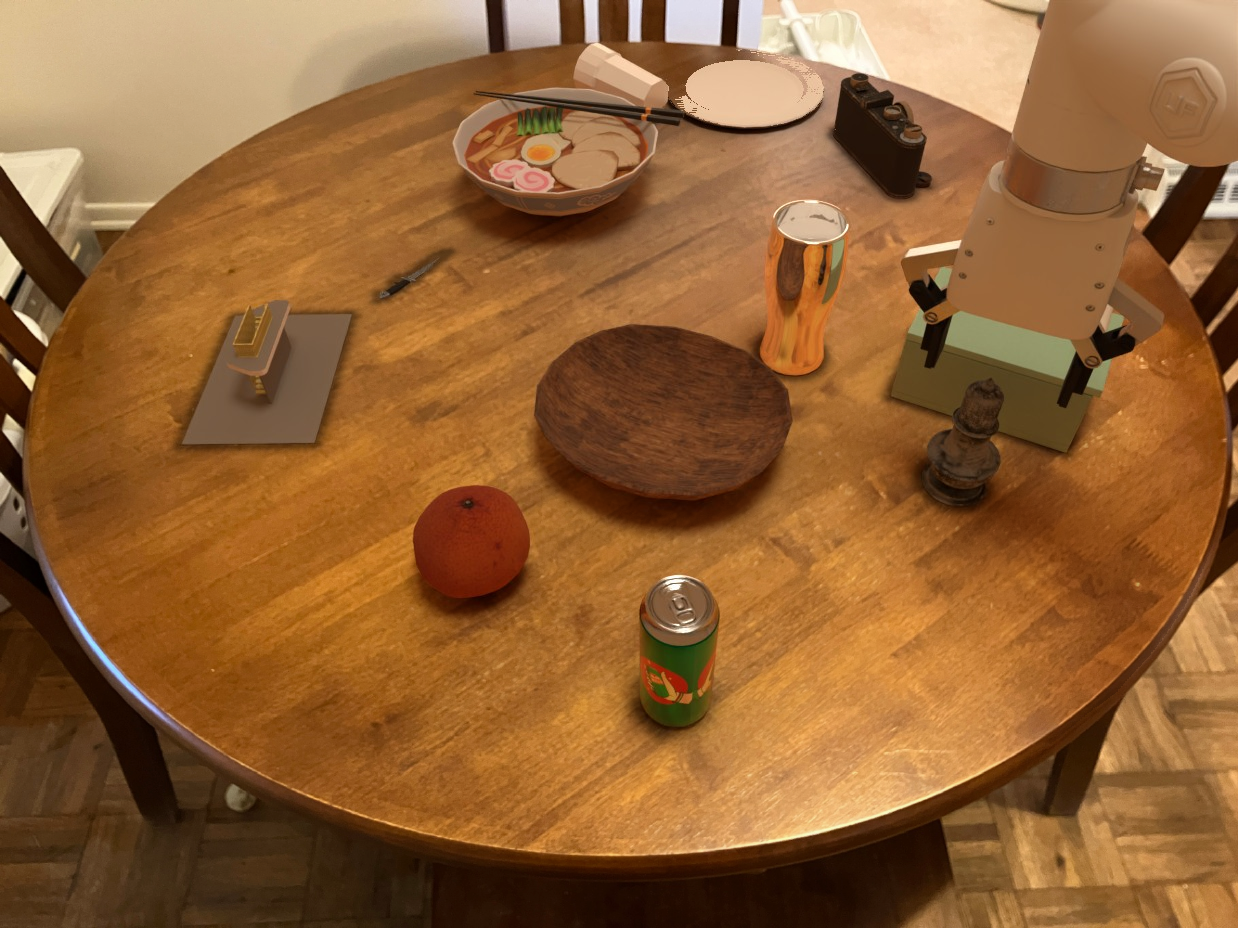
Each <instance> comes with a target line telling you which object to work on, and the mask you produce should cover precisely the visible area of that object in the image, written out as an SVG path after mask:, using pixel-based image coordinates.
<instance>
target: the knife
mask: <svg viewBox="0 0 1238 928" xmlns="http://www.w3.org/2000/svg"><path fill="white" fill-rule="evenodd" d="M439 259H440V257H438V258H437V259H435V260H434V261H431V262H430V263H428V264H426V265H425V266H423V267H422V268H420V269H418V270H417V271H415V272H413V273H412V274H410V275H408V276H407V277H405V276H400V277H399V279H402V280H400V281H399V282H397V281H393V282H394V285H392V286H390V287H389V288H388V289H386V290H384V291H380V292H379V299H380V300H384V299H387V298H389V297H392V296H393V295H395V294H396V293H399V292H400V291H401V290H402V289H405V287H407V286H409V284H410V283H413V282H414V283H415V282H416V279H417V278H419V277H420V276H422V275H423V274H424V273H426V272H427V271H428V270H429V269H431V268H432V267H433V265H434V264H435V263H436V262H437V261H438V260H439Z"/></svg>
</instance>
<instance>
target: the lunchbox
mask: <svg viewBox="0 0 1238 928" xmlns="http://www.w3.org/2000/svg"><path fill="white" fill-rule="evenodd" d="M903 344H904V345H903V348H902V352H901V356H900V359H899V364H898V367H897V372H896V375H895V378H894V382H893V386H892V390H891V392H890V393H891V394H890V397H891V398H895V399H897V400H901V401H904V402H907V403H910V404H913V405H916V406H920V407H921V408H926V409H928V410H932V411H934V412H938V413H941V414H944V415H947V416H950V417H952V415H953V413H954V411H955V410H956V409H957V408H959V407H961V404H962V401H963V398H964V395H965V392H966V390H967V388H968V386H969V385H970V384H972V383H974V382H976V381H980V380H986V379H988V378H992V379H993V381H994V383H995V384H996V385H998V386H999V387H1000V388H1001V390H1002V391H1003V394H1004V402H1003V404H1002V407H1001V410H1000V412H999V415H998V417H997V419H998V421H999V429H998V431H997V432H999V433H1002V434H1005V435H1009V436H1012V437H1015V438H1018V439H1022V440H1025V441H1028V442H1030V443H1034V444H1037V445H1039V446H1044V447H1045V448H1050V449H1052V450H1055V451H1058V452H1062V453H1068V450H1069V448H1070V446H1071V443H1073V442H1072V441H1073V439H1074V438H1075V435H1076V434H1077V432H1078V429H1079V427H1080V425H1081V423H1082V422H1083V421H1082V420H1083V419H1084V416H1085V414H1086V412H1087V411H1088V408H1089V406H1090V404H1091V402H1092V400H1093V398H1094V396H1092V395H1089V394H1086V393H1083V395H1079V394H1076V393H1072V396H1071V398H1070V400H1069V403H1068V405H1067V407H1066V408H1063V407H1059V404H1057V401H1058V397H1059V394H1060V391H1061V388H1062V386H1059V385H1056V384H1053V383H1049V382H1046V381H1043V380H1039V379H1036V378H1033V377H1029V376H1026V375H1023V374H1019V373H1016V372H1013V371H1009V370H1006V369H1003V368H999V367H996V366H993V365H990V364H986V363H983V362H980V361H976V360H973V359H970V358H966V357H963V356H960V355H956V354H953V353H950V352H946V351H943V350H942V352H941V354H940V357H939V359H938V361H937V363H936V365H935V367H934V368H931V369H929V368H925V367H924V365H925V361H926V357H927V353H928V351H925V350H922V349H920V348H921V344H920V343H917V342H913V341H910V340H907V339H906V338H905V340H904V343H903Z"/></svg>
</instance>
